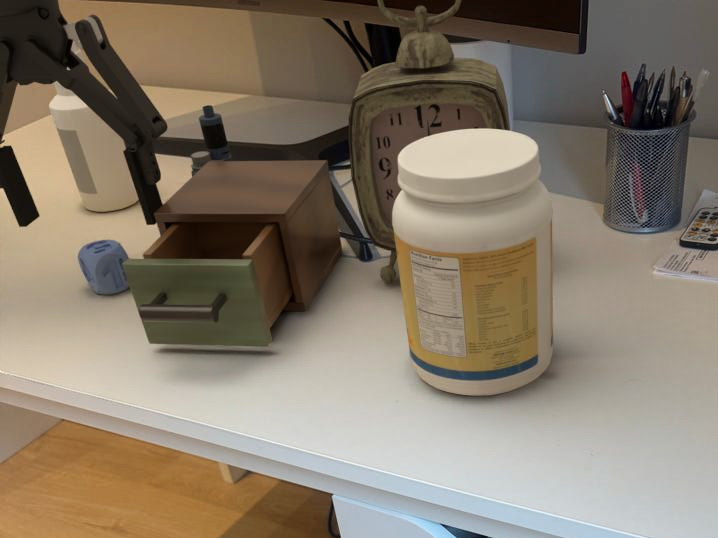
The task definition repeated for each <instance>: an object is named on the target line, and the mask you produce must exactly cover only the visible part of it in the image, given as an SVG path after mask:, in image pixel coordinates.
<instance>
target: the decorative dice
mask: <svg viewBox="0 0 718 538" xmlns="http://www.w3.org/2000/svg"><path fill="white" fill-rule="evenodd" d="M127 259H130V257H129V255H128V253H127V250H125V248H124V247H123V245H122V244H121V243H120V242H119V241H116V240H115V239H99V240H94V241H90V242H89V243H87V244H84V245H83V246H82V247H81V248H80V249H79V251H78V254H77V260H78V264H79V268H80V270H81V273H82V274H83V276H84V279H85V280H86V282H87V284H88V285H89V287H90V289H91V290H92V291H93V292H95V293H96V294H98V295H114V294H118V293H119V294H120V293H123V292H124V291H126V290H128V289H130V286H129V283H128V280H127V277H126V274H125V272H124V269H123V266H122V264H123V263H124V262H125V261H126V260H127Z"/></svg>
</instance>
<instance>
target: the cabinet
mask: <svg viewBox="0 0 718 538" xmlns="http://www.w3.org/2000/svg"><path fill="white" fill-rule="evenodd" d="M162 204H163V205H162V206H161V207H160V208H159V209H158V210H157V211H156V212H155V213H154V216H155V219H156V222H157V223H156V226H157V229H158V232H159V235H160V236H161V235H162V234H163V233H164V232H165V231H166V230H167V229H168V228H169V227H170V226H171V225H172V224H173V223H174V222H279V225H280V230H281V235H282V239H283V244H284V249H285V253H286V258H287V263H288V267H289V272H290V277H291V281H292V286H293V291H294V293H293V295H292V296H291V298H290V299H289V301H288V302H287V304H286V305H285V307H284V308H283V310H282V311H281V312H283V311H284V312H306V311H307V309H308V308H309V306H310V305H311V304H312V302H313V300H314V298H315V296H316V295H317V293H318V292H319V290H320V288H321V287H322V285H323V284H324V282H326V279H327V278H328V276H329V274H330V273H331V272H332V270H333V268H334V267H335V266H336V263H337V262H338V260H339V259H340V257H341V255H342V254H343V246H342V241H341V240H342V239H341V233H340V227H339V222H338V221H339V220H338V215H337V210H336V203H335V199H334V192H333V187H332V180H331V174H330V169H329V161H328V160H327V159H325V160H323V159H319V160H318V159H317V160H311V159H309V160H305V159H304V160H232V161H209V162H207V163H206V164H205V165H204V166H203V167H202V168H201V169H200V170H199V171H198V172H197V173H196V174H195V175H194V176H193V177H192V176H191V178H189V179H188V180H187V182H185V183H184V184H183V185H182V186H181V187H180V188H179V189H178V190H177V191H176V192H175V193H173V195H172V196H170V198H168V199H167V201H165V202H164V203H162ZM160 236H159V237H160Z"/></svg>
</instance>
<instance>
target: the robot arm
mask: <svg viewBox="0 0 718 538" xmlns="http://www.w3.org/2000/svg"><path fill="white" fill-rule="evenodd" d="M73 40H74V41H75V42H76V45H77V47H78V48H79V49H80V50H81V51H83V52H84V53H85V56H86V57H87V59H88V60H89V62H90V63H91V65H92V66H93V68H94V69H95V70H96V72H97V73H98V74H99V76H100V77H101V78H102V80H103V81H104V82H105V84H106V85H107V86H108V88H109V89H110V90H109V89H108V88H107V87H106V86H105V85H104V84H103V83H102V82H101V81H100V80H99V79H97V77H96V76H94V75H93V73H91V71H90V68H89V66H88V65H87V63H86V62H85V63H84V62H83V61H82V60H81V59H80V58H79V57H78V56H77V55H76V54H75V53H74V52H73V51H72V50H71V48H72V43H73ZM67 67H68V68H69V69H70V70H67ZM56 81H57V82H58V83H59V84H60V85H61V86H63V87H64V88H66V89H69V90H71V91H72V92H73V93H74V94H75V95H77V96H78V97H79V98H80V99H81V100H82V101H83V102H84V103H85V104H86V105H87V106H88V107H89V108H90V109H91V110H92V111H93V112H95V113H96V114H97V115H98V116H99V117H100V118H101V119H102V120H103V121H104V122H105V123H106V124H107V125H108V126H109V127H110V128H111V129H113V130H114V131H115V132H116V133H117V134H118V135H119V136H120V137H121V138H122V139H123V141H124V143H125V144H127V145H128V146H127V147H126V149H125V150H124V151H123V153H124V156H125V159H126V162H127V165H128V168H129V171H130V174H131V178H132V181H133V184H134V187H135V190H136V193H137V196H138V199H139V200H138V203H139V204H140V208H141V211H142V214H143V217H144V220H145V223H146V226H155V225H157V222H156V219H155V216H154V213H155V212H156V211H157V210H158V209H159V208H160V207H161V206H162V205H163V204H164V203H163V201H162V199H161V198H162V197H161V195H160V192H159V189H158V185H157V183H159V182H160V181H161V180H162V173H161V170H160V167H159V166H160V165H159V163H158V160H157V156H156V153H155V150H154V145H153V142H154V141H156V140H158V139H159V138H160V137H161V136H162V135H163V134H165V133H166V132H167V131H168V127H169V126H168V123H167V121H166V120H165V118H164V117H163V116H162V114H161V113H160V112H159V110H158V108H157V107H156V105H154V104H153V102H152V100H151V99H150V97H149V96H148V94H147V93H146V92H145V91H144V89H143V88H142V87H141V85H140V83H139V82H138V81H137V79H136V78H135V77H134V76H133V74H132V72H131V71H130V69H128V67H127V65H126V64H125V63H124V62H123V60H122V58H121V57H120V56H119V54H118V53H117V52H116V51H115V49H114V47H113V46H112V44H111V43H110V40H109V38H108V36H107V33H106V30H105V27H104V25H103V23H102V21H101V19H100V18H99V17H98V15H96V14H90V15H88V16H86V17H83V18H81V19H80V20H76V21H72V22H68V21H67V19H66V18H65V17H64V15H63V13H62V12H61V9H60V4H59V0H0V145H2V144H4V143H5V141H6V140H5V139H3V138H4V134H5V132H6V131H5V130H6V126H7V123H8V119H9V115H10V112H11V109H12V106H13V101H14V98H15V94H16V90H17V86H18V85H19V86H30V85H31V84H33V83H37V84H41V85H52V84H54V82H56ZM0 189H3V192H4V194H5V196H6V199H7V201H8V204H9V205H10V208H11V211H12V214H13V215H14V218H15V220H16V222H17V224H18V227H19V228H27V227H29V225H31V224H32V223H33V222H34V221H36V220H37V219H39V218H40V217H41V215H40V213H39V210H38V208H37V205H36V203H35V200H34V198H33V195H32V193H31V191H30V188H29V185H28V183H27V181H26V178H25V176H24V173H23V171H22V168H21V166H20V163H19V161H18V159H17V156H16V153H15V151H14V148H13V146H12V145H3V146H2V147H1V146H0Z"/></svg>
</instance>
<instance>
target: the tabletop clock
mask: <svg viewBox="0 0 718 538" xmlns="http://www.w3.org/2000/svg"><path fill="white" fill-rule="evenodd" d="M461 3H462V0H455V2H454V5H452V6H451V7H450V8H448V10H446V11H444V12H441V13H439V14H437V15H431V16H428V10H427V8H426V7H425V6H424V5H417V6H416V7H415V9H414V17H406V16H401V15H398V14H395V13H393V12H391V11H390V10H388V9H387V8H386V6H385V3H384V0H377V4H378V8H379V10H380V12H381V13H382V15H383V16H384V17H385V18H387V19H388V20H389V21H390V22H391V23H393V24H395V25H399V26H401V27H404V28H413V29H415V30H414V31H412V32H409V33H407V34H406V35H404V37H403V39H402V40H401V42H400V44H399V46H398V49H397V53H396V58H395V61H394V62H390V63H384V64H381V65H378V66H375V67H372V69H369V70H368V71H366V72H364V73H363V74H361V76H360V79H359V82H358V84H357V86H356V90H355V93H354V95H353V97H352V101H351V106H350V109H349V110H350V111H349V115H348V126H347V127H348V130H347V132H348V133H347V135H348V136H347V140H348V151H349V153H348V154H349V164H350V166H349V167H350V176H351V182H352V187H353V191H354V195H355V199H356V203H357V204H356V205H357V209H358V212H359V216H360V219H361V223H362V225H363V227H364V230H365V233H366V234H367V236H368V238H369V240H370V242H371V243H372V245H373V246H374V247H377V248H380V249H381V250H385V251H389V252H390V256H389V262H388V264H386V265H384V266H382V268H381V269H380V272H379V277H380V278H381V280H382V281H383V282H384V283H387V284H390V283H393V282H395V280H396V278H397V270H396V268H395V264H396V263H397V261H398V259H397V252H396V244H395V237H394V229H393V225H392V211H393V206H394V202H395V200H396V198H397V196H398V195H399V193H400V192H401V190H402V189H401V188H400V187H399V185H398V174H399V170H398V155H399V153H400V152H401V151H402V150H403V149H404V148H405V147H406V146H408V145H409V144H411V143H413V142H415V141H417V140H419V139H421V138H424V137H427V136H431V135H434V134H439V133H443V132H449V131H455V130H463V129H500V130H508V131H511V126H510V114H509V105H508V99H507V94H506V90H505V86H504V82H503V80H502V78H501V75H500V72H499V70H498V67H497V66H496V65H494V64H491V63H489V62H488V61H487V62H486V61H484V60H481V59H478V58H477V59H476V58H471V57H455V54H454V51H453V48H452V46H451V44H450V42H449V41H448V39H447V38H446V37H445V35H443V33H441V32H439V31H436V30H433V29H429V28H430V27H434V26H438V25H440V24H443V23H445V22H446V21H448V20H451V19H452V18H453V16H454V15H455V14H457V11H459V8H460V6H461Z"/></svg>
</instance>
